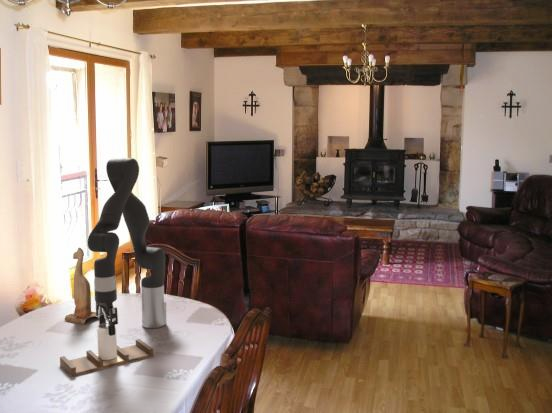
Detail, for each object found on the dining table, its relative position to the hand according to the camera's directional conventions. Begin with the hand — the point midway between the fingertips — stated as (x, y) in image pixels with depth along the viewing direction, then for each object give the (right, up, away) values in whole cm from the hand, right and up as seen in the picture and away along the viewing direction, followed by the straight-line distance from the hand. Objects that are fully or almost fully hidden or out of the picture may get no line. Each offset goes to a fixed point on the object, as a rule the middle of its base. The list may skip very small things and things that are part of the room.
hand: (107, 331), depth 219 cm
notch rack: (0, -11, +1) cm, 11 cm away
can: (0, -10, +1) cm, 10 cm away
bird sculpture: (-23, -4, +46) cm, 51 cm away
